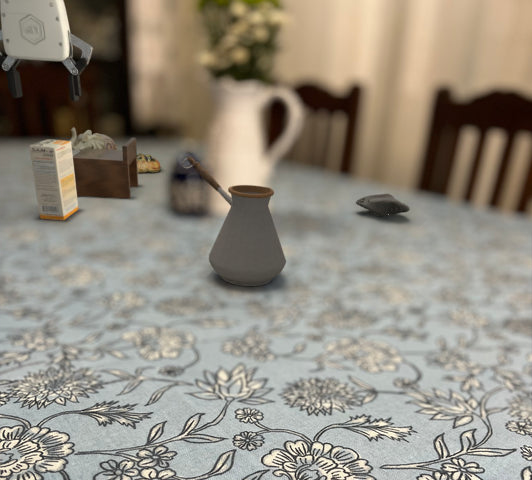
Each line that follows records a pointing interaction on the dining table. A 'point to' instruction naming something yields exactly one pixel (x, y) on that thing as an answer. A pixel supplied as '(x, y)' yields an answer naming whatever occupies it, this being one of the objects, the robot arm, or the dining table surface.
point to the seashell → (382, 205)
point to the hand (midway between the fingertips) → (46, 98)
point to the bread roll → (147, 163)
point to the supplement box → (54, 178)
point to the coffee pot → (245, 235)
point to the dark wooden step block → (106, 171)
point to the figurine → (91, 141)
